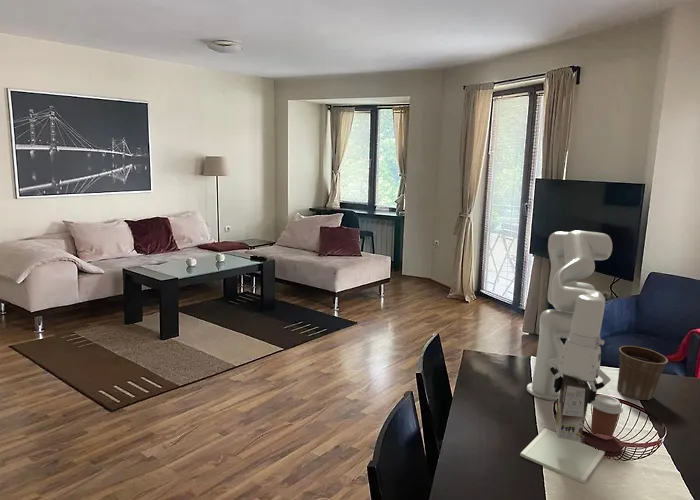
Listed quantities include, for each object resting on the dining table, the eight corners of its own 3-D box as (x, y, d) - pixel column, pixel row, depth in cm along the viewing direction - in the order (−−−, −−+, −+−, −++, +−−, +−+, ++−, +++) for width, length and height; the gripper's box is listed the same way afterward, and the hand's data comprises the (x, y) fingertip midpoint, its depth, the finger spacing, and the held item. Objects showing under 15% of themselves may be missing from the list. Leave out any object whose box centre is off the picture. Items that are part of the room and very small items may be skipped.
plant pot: (667, 399, 205) (676, 358, 201) (645, 408, 195) (654, 366, 192) (625, 381, 218) (633, 343, 214) (603, 389, 208) (610, 349, 205)
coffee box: (581, 442, 153) (591, 389, 150) (557, 438, 155) (566, 385, 152) (576, 427, 162) (585, 376, 159) (553, 423, 164) (562, 372, 160)
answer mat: (544, 430, 173) (545, 428, 173) (604, 454, 162) (605, 451, 162) (520, 455, 158) (520, 452, 158) (584, 483, 147) (585, 480, 147)
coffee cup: (618, 445, 168) (625, 409, 166) (586, 437, 171) (593, 402, 169) (615, 431, 177) (622, 397, 174) (585, 424, 180) (591, 390, 177)
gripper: (620, 345, 150) (609, 403, 154) (557, 327, 161) (547, 382, 164) (613, 351, 145) (601, 412, 148) (548, 333, 155) (538, 390, 159)
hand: (573, 396), depth 156 cm, fingers closed on coffee box, 8 cm apart
